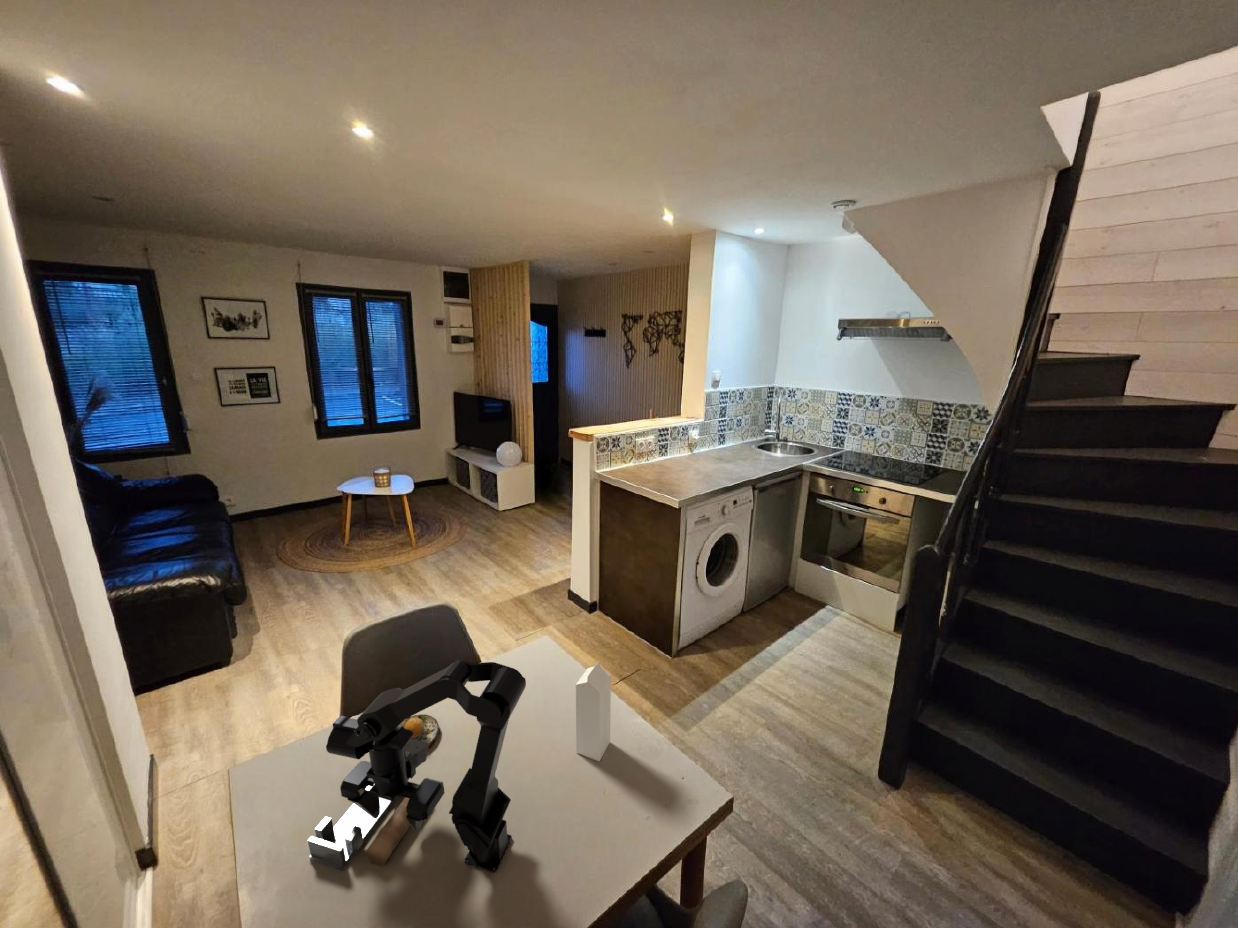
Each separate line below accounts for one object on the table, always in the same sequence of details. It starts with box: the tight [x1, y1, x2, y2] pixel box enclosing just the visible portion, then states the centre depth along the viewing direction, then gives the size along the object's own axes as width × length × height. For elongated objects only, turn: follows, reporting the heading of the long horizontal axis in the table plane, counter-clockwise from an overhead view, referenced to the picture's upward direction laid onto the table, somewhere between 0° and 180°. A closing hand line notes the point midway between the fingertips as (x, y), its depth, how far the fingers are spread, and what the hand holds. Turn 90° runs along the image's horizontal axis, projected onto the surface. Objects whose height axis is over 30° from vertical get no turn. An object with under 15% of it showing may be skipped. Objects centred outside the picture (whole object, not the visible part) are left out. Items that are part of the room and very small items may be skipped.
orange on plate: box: [398, 713, 441, 752], centre depth 112 cm, size 12×12×8 cm
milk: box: [575, 660, 612, 762], centre depth 108 cm, size 6×6×22 cm
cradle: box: [307, 780, 410, 872], centre depth 94 cm, size 8×18×4 cm, turn 166°
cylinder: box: [365, 797, 411, 867], centre depth 92 cm, size 13×4×4 cm, turn 166°
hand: (397, 822), depth 92 cm, fingers open, 9 cm apart
